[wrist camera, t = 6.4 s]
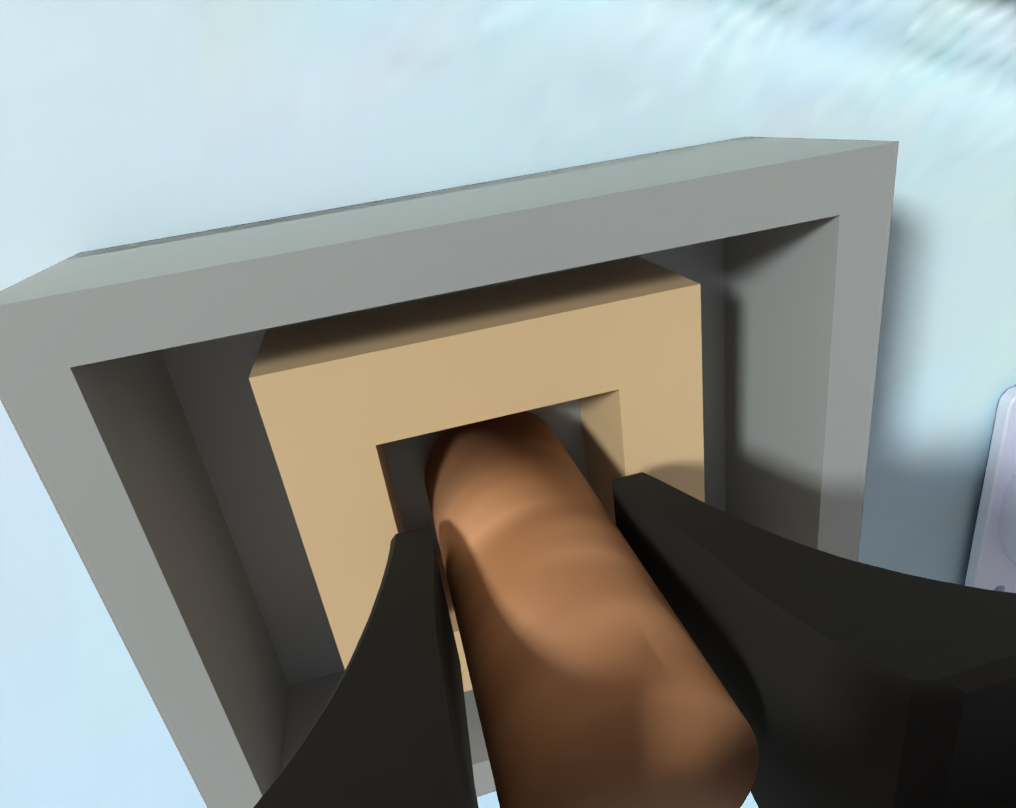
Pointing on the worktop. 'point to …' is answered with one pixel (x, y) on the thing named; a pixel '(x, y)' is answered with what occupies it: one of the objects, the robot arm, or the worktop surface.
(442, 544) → the peg
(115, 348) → the tray
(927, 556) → the worktop surface
